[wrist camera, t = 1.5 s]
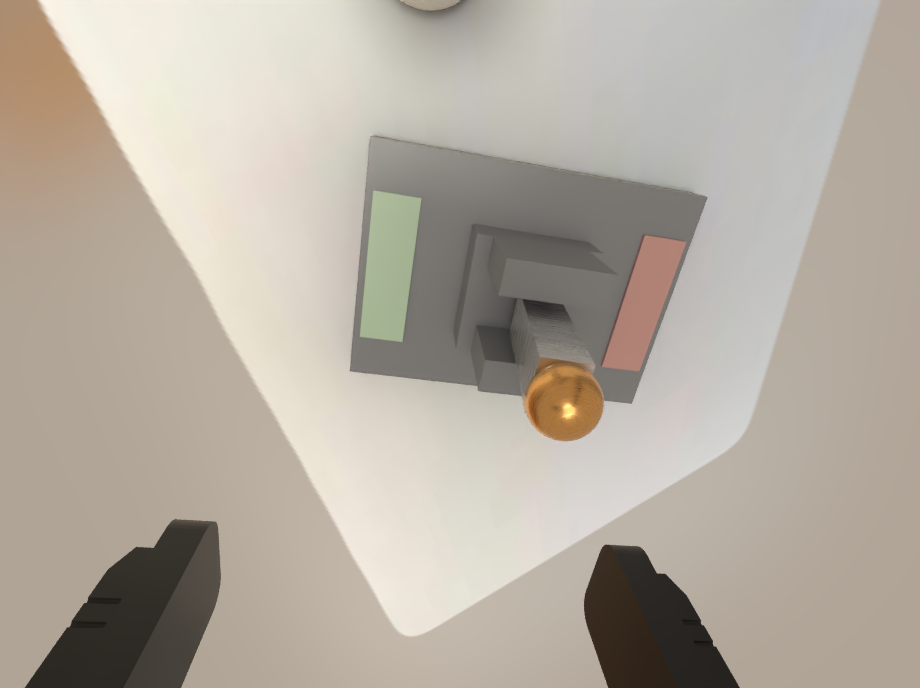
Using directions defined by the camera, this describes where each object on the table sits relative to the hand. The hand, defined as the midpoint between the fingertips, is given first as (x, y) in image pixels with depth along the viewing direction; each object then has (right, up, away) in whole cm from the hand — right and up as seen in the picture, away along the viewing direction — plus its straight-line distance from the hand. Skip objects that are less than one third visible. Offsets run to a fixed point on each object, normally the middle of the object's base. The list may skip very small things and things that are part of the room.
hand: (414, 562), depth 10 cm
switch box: (+5, +9, +25) cm, 27 cm away
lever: (+5, +7, +20) cm, 22 cm away
